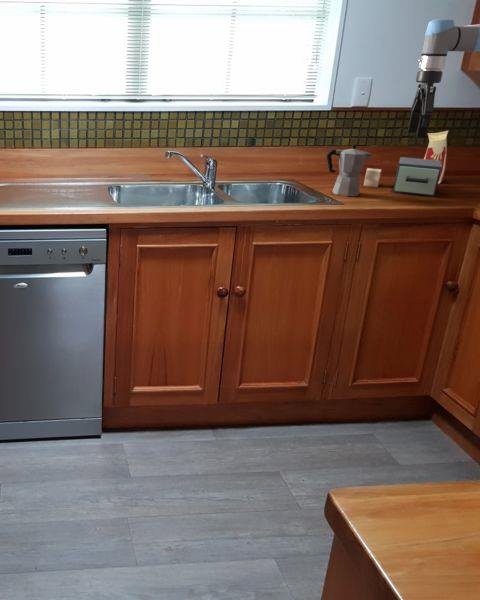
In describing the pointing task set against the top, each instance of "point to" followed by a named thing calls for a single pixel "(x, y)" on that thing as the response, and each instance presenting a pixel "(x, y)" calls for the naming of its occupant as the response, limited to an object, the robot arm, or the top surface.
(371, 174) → the block
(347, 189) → the coffeepot
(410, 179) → the bin
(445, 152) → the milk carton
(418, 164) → the cabinet
